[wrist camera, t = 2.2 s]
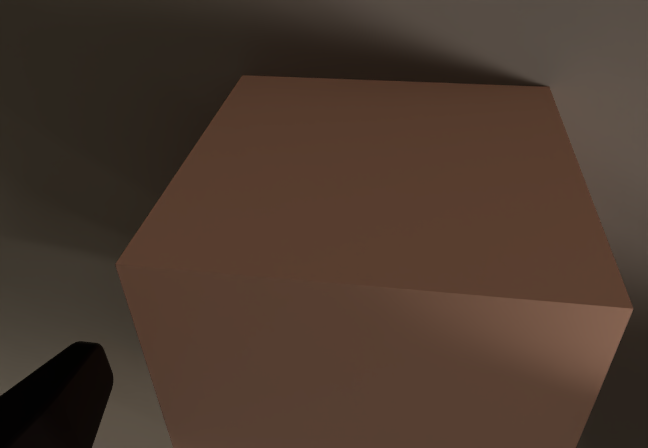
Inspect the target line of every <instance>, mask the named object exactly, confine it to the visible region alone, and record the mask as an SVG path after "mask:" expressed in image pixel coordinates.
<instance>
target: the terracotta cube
mask: <svg viewBox="0 0 648 448" xmlns="http://www.w3.org/2000/svg"><path fill="white" fill-rule="evenodd" d="M115 265H116V269H117V272H118V275H119V278H120V281H121V284H122V287H123V291H124V294H125V297H126V300H127V303H128V306H129V310H130V313H131V316H132V319H133V322H134V325H135V328H136V332H137V335H138V338H139V341H140V344H141V347H142V350H143V354H144V357H145V360H146V363H147V366H148V369H149V373H150V376H151V379H152V382H153V385H154V388H155V391H156V395H157V398H158V401H159V404H160V407H161V410H162V413H163V417H164V420H165V423H166V426H167V429H168V432H169V436H170V439H171V442H172V445H173V448H576V447H577V444H578V442H579V439H580V437H581V434H582V432H583V430H584V427H585V425H586V422H587V420H588V418H589V415H590V413H591V410H592V408H593V405H594V403H595V401H596V398H597V396H598V393H599V391H600V389H601V386H602V384H603V381H604V379H605V376H606V374H607V372H608V369H609V367H610V364H611V362H612V360H613V357H614V355H615V352H616V350H617V347H618V345H619V343H620V340H621V338H622V335H623V333H624V331H625V328H626V326H627V323H628V321H629V318H630V316H631V314H632V311H633V306H632V304H631V301H630V298H629V296H628V293H627V290H626V288H625V285H624V282H623V280H622V277H621V275H620V272H619V269H618V267H617V264H616V261H615V259H614V256H613V254H612V251H611V248H610V246H609V243H608V240H607V238H606V235H605V232H604V230H603V227H602V225H601V222H600V219H599V217H598V214H597V211H596V209H595V206H594V204H593V201H592V198H591V196H590V193H589V190H588V188H587V185H586V182H585V180H584V177H583V175H582V172H581V169H580V167H579V164H578V161H577V159H576V156H575V154H574V151H573V148H572V146H571V143H570V140H569V138H568V135H567V132H566V130H565V127H564V125H563V122H562V119H561V117H560V114H559V111H558V109H557V106H556V104H555V101H554V98H553V96H552V93H551V90H550V88H549V87H540V86H514V85H487V84H461V83H435V82H409V81H382V80H356V79H330V78H303V77H277V76H251V75H242V76H241V78H240V79H239V81H238V82H237V84H236V85H235V87H234V88H233V90H232V91H231V93H230V94H229V96H228V97H227V99H226V100H225V102H224V103H223V105H222V106H221V107H220V109H219V110H218V112H217V113H216V115H215V116H214V118H213V119H212V121H211V122H210V124H209V125H208V127H207V128H206V130H205V131H204V133H203V134H202V136H201V137H200V139H199V140H198V142H197V143H196V145H195V146H194V148H193V149H192V151H191V152H190V154H189V155H188V157H187V158H186V160H185V161H184V162H183V164H182V165H181V167H180V168H179V170H178V171H177V173H176V174H175V176H174V177H173V179H172V180H171V182H170V183H169V185H168V186H167V188H166V189H165V191H164V192H163V194H162V195H161V197H160V198H159V200H158V201H157V203H156V204H155V206H154V207H153V209H152V210H151V212H150V213H149V215H148V216H147V217H146V219H145V220H144V222H143V223H142V225H141V226H140V228H139V229H138V231H137V232H136V234H135V235H134V237H133V238H132V240H131V241H130V243H129V244H128V246H127V247H126V249H125V250H124V252H123V253H122V255H121V256H120V258H119V259H118V261H117V262H116V264H115Z"/></svg>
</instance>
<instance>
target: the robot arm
mask: <svg viewBox="0 0 648 448" xmlns="http://www.w3.org/2000/svg"><path fill="white" fill-rule="evenodd" d="M112 386H113V373H112V370H111V367H110V365H109V362H108V359H107V357H106V354H105V351H104V349H103V347H102V346H101V345H100V344H98V343H92V342H83V341H79V342H75V343H73V344H71V345H70V346H68V347H67V348H66V349H64V350H63V351H62V352H60V353H59V354H57V355H56V356H55V357H53V358H52V359H51V360H49V361H48V362H46V363H45V364H44V365H42V366H41V367H40V368H38V369H37V370H35V371H34V372H33V373H31V374H30V375H29V376H27V377H26V378H24V379H23V380H22V381H20V382H19V383H18V384H16V385H15V386H14V387H12V388H11V389H9V390H8V391H7V392H5V393H4V394H3V395H1V396H0V448H92V446H93V443H94V440H95V437H96V434H97V431H98V428H99V425H100V422H101V419H102V416H103V413H104V411H105V408H106V405H107V402H108V399H109V396H110V393H111V390H112Z"/></svg>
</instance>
